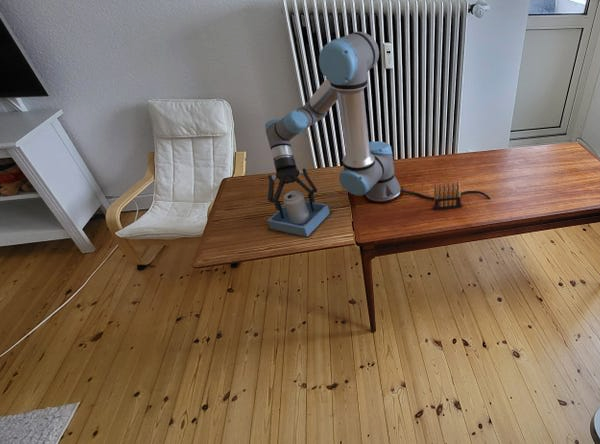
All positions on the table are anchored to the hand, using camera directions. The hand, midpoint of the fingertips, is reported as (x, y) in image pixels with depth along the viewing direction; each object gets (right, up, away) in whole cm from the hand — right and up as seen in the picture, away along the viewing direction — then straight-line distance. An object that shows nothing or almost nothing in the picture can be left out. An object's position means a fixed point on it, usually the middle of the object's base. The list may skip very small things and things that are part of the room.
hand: (298, 214), depth 142 cm
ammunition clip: (+57, +3, +11) cm, 58 cm away
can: (-1, -2, +5) cm, 6 cm away
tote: (-1, -2, +5) cm, 6 cm away
